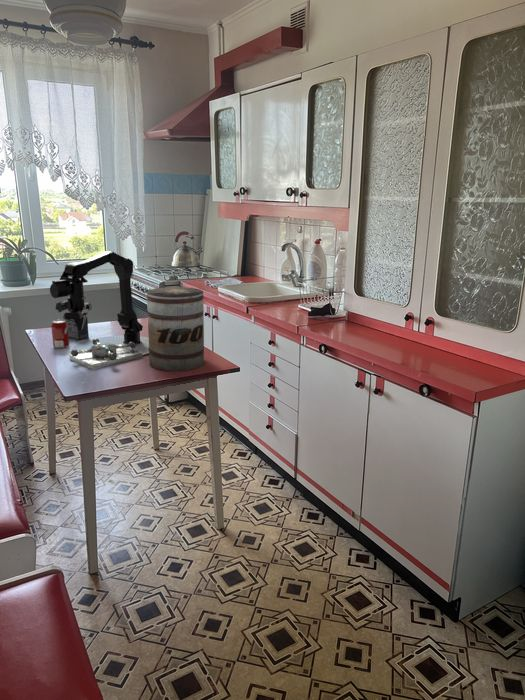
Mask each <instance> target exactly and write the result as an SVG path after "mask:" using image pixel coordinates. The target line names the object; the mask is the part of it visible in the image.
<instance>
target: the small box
mask: <svg viewBox="0 0 525 700" xmlns="http://www.w3.org/2000/svg"><path fill="white" fill-rule="evenodd" d="M62 320H65V321H66V323H67V325H68V336H69V339H71V340H75V341H81V340H85V339H89V336H90V335H89V321H88V316H87V317H86V320H85V322H84V325H83V328H82V331H78V328H77V326H76V323H75V321H74V320H73V319H64V315H63V316H62Z"/></svg>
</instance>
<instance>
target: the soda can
mask: <svg viewBox="0 0 525 700" xmlns="http://www.w3.org/2000/svg"><path fill="white" fill-rule="evenodd" d="M50 326H51V327H50V328H51V337H52V346H53V348H55V349H66V348H68V347H69V346H70V338H69V336H68V325H67V323H66V321H65V320H63V319H54V320H52V323H51V325H50Z"/></svg>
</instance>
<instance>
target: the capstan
mask: <svg viewBox="0 0 525 700" xmlns="http://www.w3.org/2000/svg"><path fill="white" fill-rule="evenodd" d="M91 343H92V346H91V348H90V349H89V348H88V349H81V350H80V349H79V350H78V349H76V348H74V349H72V350H70V355H72V356H74V357H76V356H77V355H78V354H83V353H90V352H92V355H93V356H95V357H109V359H110V360H115V359H116V349H119V348H127V347H129V348H131V349H134V348H135V347H136V344H135V343H134V342H129V343H128V344H126V343H124V344H121V345H117V346H116V344H114V343H108V342H107V343H104V342H103V343H100V340H99V339H98V338H93V339H92V341H91Z"/></svg>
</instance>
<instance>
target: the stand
mask: <svg viewBox="0 0 525 700" xmlns="http://www.w3.org/2000/svg"><path fill="white" fill-rule="evenodd" d="M115 345H116V346H117V345H122V344H121V343H117V344H115ZM68 356H69V360H70V361H73V362H75V363H77V364H78V365H81V366H83V367H86V368H88V369H90V370H96V369H99V368H104V367H109V366H112V365H116V364H120V363H124V362H129V361H133V360H137V359H140V358H143V356H144V355H143V352H142V351H139V350H136V349H134V348H133V349H131V348H129V347H127V348H119V349H116V359H115V360H110V359H109V357H95V356H93V355H92V352H90V353H83V354H78V355H77V356H76V357H74V356H72V355H71V354H68Z"/></svg>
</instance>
